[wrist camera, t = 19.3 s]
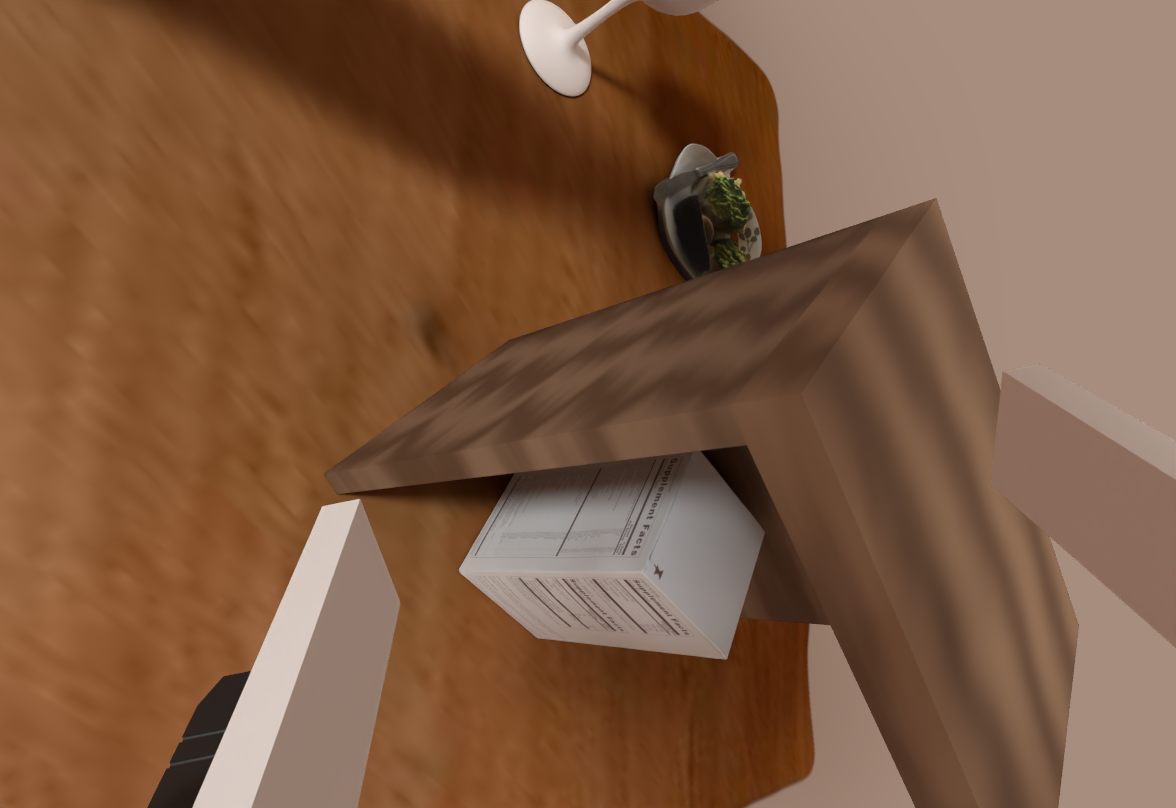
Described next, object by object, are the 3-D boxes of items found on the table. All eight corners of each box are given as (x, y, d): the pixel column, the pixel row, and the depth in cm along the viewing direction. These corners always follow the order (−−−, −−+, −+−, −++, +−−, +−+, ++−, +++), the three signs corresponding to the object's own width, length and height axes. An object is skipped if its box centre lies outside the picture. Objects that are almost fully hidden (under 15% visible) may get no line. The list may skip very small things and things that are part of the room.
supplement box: (537, 642, 52) (728, 669, 40) (453, 572, 48) (639, 579, 36) (588, 534, 57) (771, 531, 45) (517, 463, 53) (698, 439, 41)
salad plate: (684, 104, 78) (719, 85, 74) (763, 222, 87) (797, 209, 83) (629, 217, 68) (666, 200, 64) (725, 336, 77) (762, 327, 73)
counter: (527, 774, 49) (1041, 954, 27) (323, 474, 42) (801, 393, 20) (651, 597, 61) (1078, 625, 39) (509, 340, 54) (936, 198, 32)
